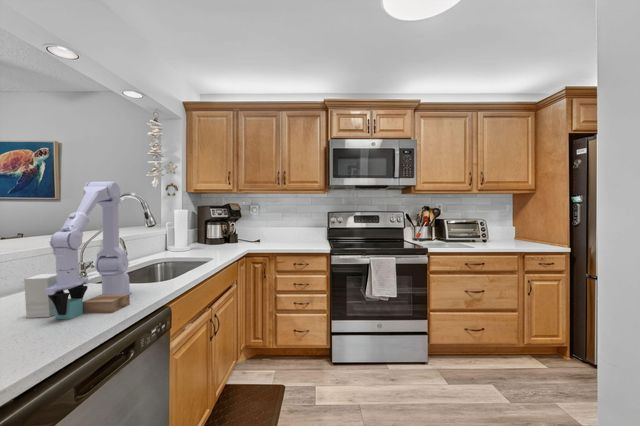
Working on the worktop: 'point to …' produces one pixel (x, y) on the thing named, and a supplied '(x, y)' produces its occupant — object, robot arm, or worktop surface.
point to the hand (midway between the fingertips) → (69, 311)
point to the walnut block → (105, 303)
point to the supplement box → (39, 295)
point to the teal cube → (72, 309)
